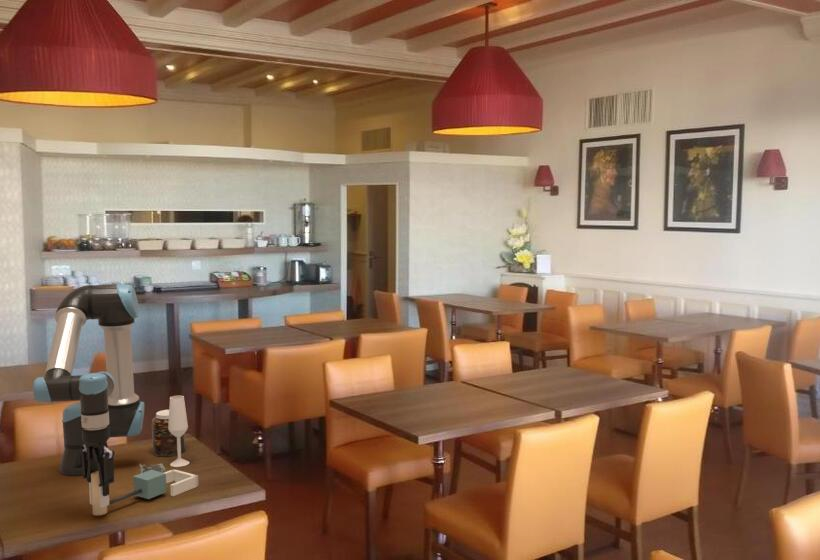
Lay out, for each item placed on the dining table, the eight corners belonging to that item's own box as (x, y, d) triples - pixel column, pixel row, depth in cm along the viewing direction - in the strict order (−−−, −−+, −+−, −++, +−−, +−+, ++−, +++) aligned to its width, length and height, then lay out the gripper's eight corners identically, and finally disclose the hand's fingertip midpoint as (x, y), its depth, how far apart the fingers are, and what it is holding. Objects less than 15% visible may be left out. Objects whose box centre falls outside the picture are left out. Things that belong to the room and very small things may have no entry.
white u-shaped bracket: (148, 489, 251) (147, 478, 251) (173, 479, 260) (173, 469, 260) (173, 496, 245) (172, 485, 244) (198, 486, 253) (198, 475, 253)
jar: (191, 451, 289) (189, 411, 288) (162, 459, 281) (160, 418, 279) (175, 444, 297) (173, 406, 296) (146, 452, 289) (144, 412, 288)
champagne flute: (166, 463, 276) (163, 397, 274) (184, 459, 280) (181, 393, 278) (175, 468, 271) (172, 400, 269) (192, 463, 275) (190, 397, 273)
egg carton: (139, 474, 266) (138, 463, 265) (161, 471, 269) (161, 459, 269) (143, 484, 256) (142, 472, 256) (167, 480, 259) (166, 468, 259)
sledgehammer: (86, 512, 230) (84, 473, 229) (151, 487, 249) (150, 451, 248) (101, 517, 226) (99, 477, 225) (166, 492, 246) (165, 455, 244)
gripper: (66, 425, 228) (70, 502, 231) (102, 434, 219) (106, 514, 222) (88, 419, 235) (92, 494, 237) (125, 427, 226) (129, 505, 228)
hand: (99, 504), depth 229 cm, fingers closed on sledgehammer, 4 cm apart
